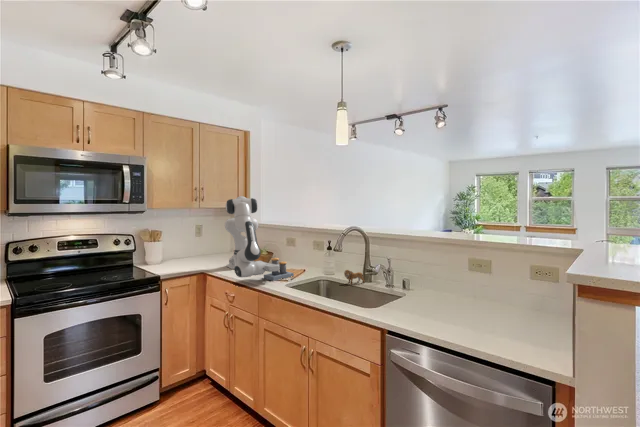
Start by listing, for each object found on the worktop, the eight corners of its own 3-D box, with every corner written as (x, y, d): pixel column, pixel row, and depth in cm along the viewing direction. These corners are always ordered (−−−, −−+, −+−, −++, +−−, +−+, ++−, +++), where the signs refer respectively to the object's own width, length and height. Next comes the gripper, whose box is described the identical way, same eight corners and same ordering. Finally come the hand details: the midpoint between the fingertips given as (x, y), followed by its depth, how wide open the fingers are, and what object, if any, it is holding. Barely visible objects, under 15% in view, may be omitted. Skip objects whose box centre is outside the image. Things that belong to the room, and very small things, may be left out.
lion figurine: (346, 285, 202) (346, 270, 201) (342, 283, 207) (342, 269, 206) (367, 283, 207) (367, 268, 207) (363, 281, 212) (363, 267, 212)
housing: (263, 278, 222) (263, 274, 222) (283, 274, 234) (283, 270, 234) (273, 280, 214) (273, 277, 214) (293, 276, 226) (293, 273, 226)
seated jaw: (277, 276, 227) (276, 262, 226) (283, 275, 231) (283, 261, 230) (282, 278, 223) (282, 263, 222) (288, 276, 227) (288, 262, 226)
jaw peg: (269, 273, 222) (269, 258, 222) (276, 272, 226) (275, 257, 226) (274, 274, 218) (274, 259, 218) (281, 273, 222) (280, 258, 222)
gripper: (268, 264, 205) (285, 262, 215) (250, 261, 220) (267, 258, 229) (268, 275, 205) (286, 271, 215) (250, 270, 220) (267, 267, 230)
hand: (276, 264), depth 222 cm, fingers closed on jaw peg, 5 cm apart
